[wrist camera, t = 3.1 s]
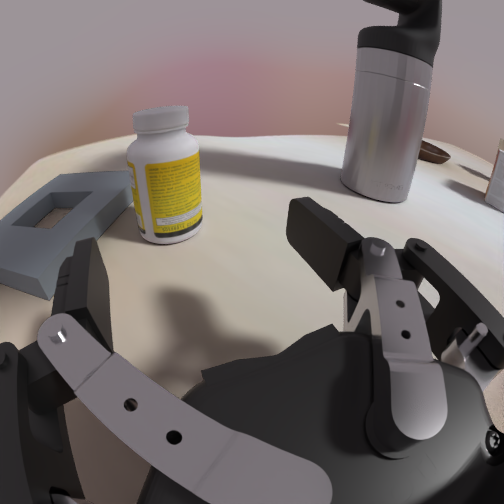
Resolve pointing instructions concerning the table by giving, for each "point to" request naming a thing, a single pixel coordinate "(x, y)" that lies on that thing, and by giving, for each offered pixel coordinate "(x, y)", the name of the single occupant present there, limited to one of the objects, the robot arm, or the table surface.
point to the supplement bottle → (165, 175)
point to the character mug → (501, 145)
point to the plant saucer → (432, 153)
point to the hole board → (58, 227)
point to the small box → (496, 184)
